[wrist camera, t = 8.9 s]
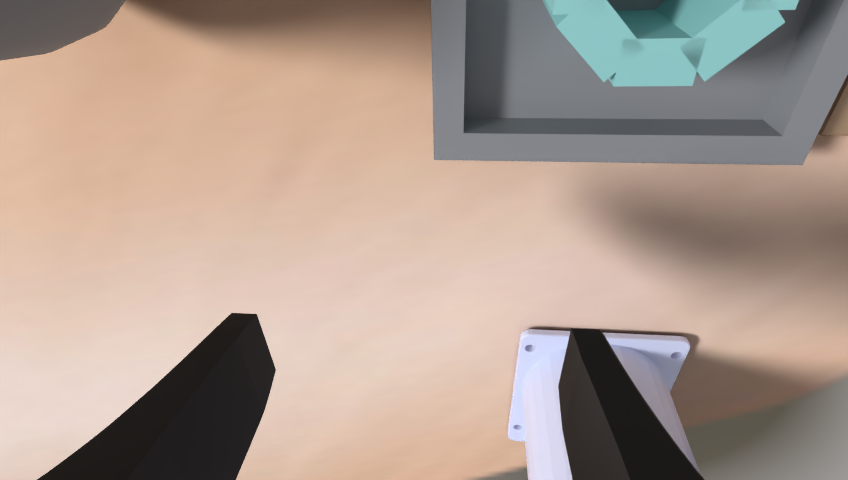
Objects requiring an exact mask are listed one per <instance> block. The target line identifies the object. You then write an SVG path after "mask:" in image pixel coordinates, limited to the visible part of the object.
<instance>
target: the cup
mask: <svg viewBox="0 0 848 480" xmlns="http://www.w3.org/2000/svg"><path fill="white" fill-rule="evenodd" d="M124 2H125V0H0V60H7V59H14V58H20V57H27V56H34V55H41V54H46V53H49V52H53V51H55V50H58V49H60V48H62V47H64V46H66V45H69V44H71V43H73V42H75V41H77V40H80V39H82V38H84V37H86V36H89V35H91V34H93V33H95V32H97V31H99V30H101V29H103V28H104V27H106V26H107V25H108V24H109V23H110V21H111V20H112V19H113V17H114V16H115V14H116V13H117V12H118V10H119V9H120V7H121V6H122V5H123V3H124Z"/></svg>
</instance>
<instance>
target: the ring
mask: <svg viewBox="0 0 848 480" xmlns="http://www.w3.org/2000/svg"><path fill="white" fill-rule="evenodd" d="M542 1H543V2H544V4H545V6H546V8H547V10H548V12H549V14H550V16H551V18H552V20H553V22H554V23H555V25H556V27H557V28H558V29H559V30H560V32H561V33H562V34H563V35H564V36H565V38H566V39H567V40H568V41H569V42H570V43H571V45H572V46H573V47H574V48H575V49H576V50H577V52H578V53H579V54H580V55H581V56H582V57H583V59H584V60H585V61H586V62H587V63H588V65H589V66H590V67H591V68H592V69H593V70H594V72H595V73H596V74H597V75H598V76H599V77H600V79H601V80H602V81H603V82H605V81H606V80H607V79H609V80H610V82H611V83H612V85H613V86H614V87H619V86H693V82H694V79H695V76H696V74H697V75H698V76H699V77H700V78H701V79H702V80H703V81H706V80H708V79H709V78H710V77H712V76H713V75H714V74H716V73H717V72H718V71H720V70H721V69H723V68H724V67H725V66H727V65H728V64H729V63H731V62H732V61H733V60H735V59H736V58H737V57H739V56H740V55H742V54H743V53H744V52H746V51H747V50H748V49H750V48H751V47H752V46H754V45H755V44H757V43H758V42H759V41H761V40H762V39H763V38H765V37H766V36H767V35H769V34H770V33H771V32H773V31H774V30H776V29H777V28H778V27H780V26H781V25H782V24H784V23H785V21H784V19H783V18H782V16H781V14H780V13H779V11H778V10H795V9H796V7H797V4H798V2H799V0H665V1H664V2H663V3H662V4H661V5H660V6H658V7H657V8H656V9H655V10H617V11H615V10H614V9H613V7H612V6H611V5H610V4H609V2H608V1H607V0H542Z"/></svg>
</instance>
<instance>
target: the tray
mask: <svg viewBox="0 0 848 480" xmlns="http://www.w3.org/2000/svg"><path fill="white" fill-rule="evenodd" d="M607 1H608V2H609V4H610V5H611V6H612V7H613V9H614V10H615V11H617V10H655V9H656V8H657V7H658V6H660V5H661V4H662V3H663V2H664V1H665V0H607ZM778 11H779V13H780V14H781V16H782V18H783V19H784V21H785V23H784V24H782V25H781V26H780V27H778V28H777V29H776V30H774V31H773V32H771V33H770V34H769V35H767V36H766V37H765V38H763V39H762V40H761V41H759V42H758V43H757V44H755V45H754V46H752V47H751V48H750V49H748V50H747V51H746V52H744V53H743V54H742V55H740V56H739V57H737V58H736V59H735V60H733V61H732V62H731V63H729V64H728V65H727V66H725V67H724V68H723V69H721V70H720V71H718V72H717V73H716V74H714V75H713V76H712V77H710V78H709V79H708V80H706V81H703V80H702V79H701V78H700V77H699V76H698V75H697V74H696V76H695V79H694V82H693V86H619V87H614V86H613V85H612V83H611V82H610V80H609V79H607V80H606V81H605V82H603V81H602V80H601V79H600V77H599V76H598V75H597V74H596V73H595V72H594V70H593V69H592V68H591V67H590V66H589V65H588V63H587V62H586V61H585V60H584V59H583V57H582V56H581V55H580V54H579V53H578V52H577V50H576V49H575V48H574V47H573V46H572V45H571V43H570V42H569V41H568V40H567V39H566V38H565V36H564V35H563V34H562V33H561V32H560V30H559V29H558V28H557V27H556V25H555V23H554V22H553V20H552V18H551V16H550V14H549V12H548V10H547V8H546V6H545V4H544V2H543V1H542V0H431V33H432V82H433V131H434V160H481V161H550V162H620V163H689V164H758V165H803V163H804V161H805V159H806V157H807V155H808V153H809V151H810V149H811V147H812V145H813V143H814V141H815V139H816V137H817V135H818V133H819V131H820V129H821V127H822V125H823V123H824V121H825V119H826V117H827V115H828V113H829V111H830V109H831V107H832V105H833V103H834V101H835V99H836V97H837V95H838V93H839V91H840V89H841V87H842V85H843V83H844V81H845V79H846V77H847V75H848V0H799V2H798V4H797V7H796V9H795V10H778Z"/></svg>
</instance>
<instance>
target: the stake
mask: <svg viewBox="0 0 848 480" xmlns="http://www.w3.org/2000/svg"><path fill="white" fill-rule="evenodd" d="M819 134H820V135H839V136H848V75H847V77H846V79H845V81H844V83H843V85H842V87H841V89H840V91H839V93H838V95H837V97H836V99H835V101H834V103H833V105H832V107H831V109H830V111H829V113H828V115H827V117H826V119H825V121H824V123H823V125H822V127H821V129H820V131H819Z"/></svg>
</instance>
